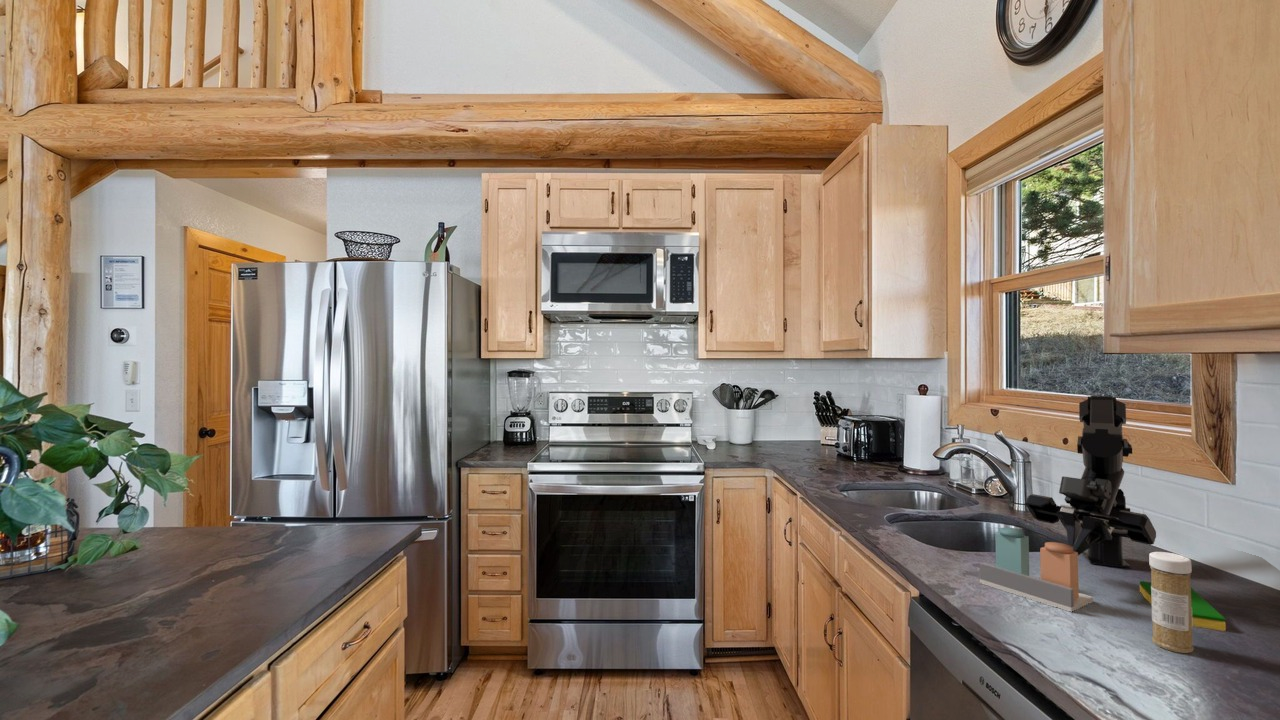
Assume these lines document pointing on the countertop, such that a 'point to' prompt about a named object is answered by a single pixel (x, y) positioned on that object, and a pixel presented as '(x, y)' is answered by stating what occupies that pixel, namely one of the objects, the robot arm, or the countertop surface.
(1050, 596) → the button console
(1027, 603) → the countertop surface
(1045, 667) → the countertop surface
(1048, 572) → the orange domed block
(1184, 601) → the sprinkles bottle
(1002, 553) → the button teal
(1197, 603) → the dish sponge
